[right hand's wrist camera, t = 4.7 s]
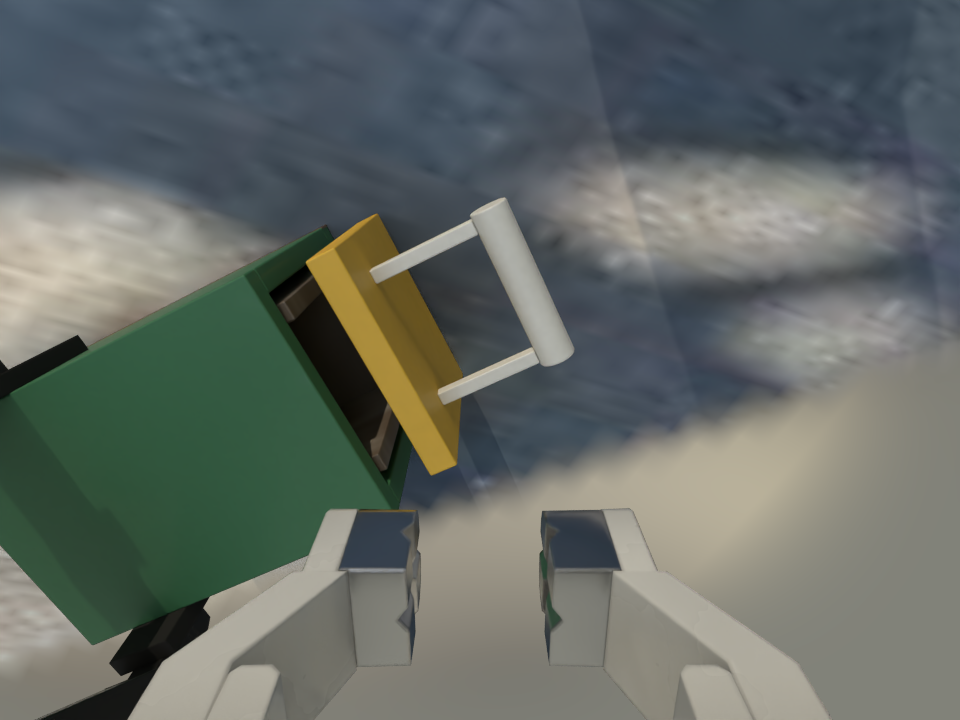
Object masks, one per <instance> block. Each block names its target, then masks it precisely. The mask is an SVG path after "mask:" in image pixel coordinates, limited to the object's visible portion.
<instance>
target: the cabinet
mask: <svg viewBox="0 0 960 720" xmlns="http://www.w3.org/2000/svg"><path fill="white" fill-rule="evenodd" d="M333 241H334V239H333V237H332V235H331V234H330V232H329V230H328V228H327V225H324V226H322V227H320V228H318V229H316V230H314V231H312V232H310V233H308V234H306V235H304V236H302V237H300V238H298V239H297V240H295V241H293V242H291V243H289V244H287V245H285V246H283V247H281V248H279V249H277V250H275V251H273V252H271V253H269V254H267V255H265V256H263V257H261V258H259V259H257V260H256V261H254V262H252V263H250V264H248V265H246V266H244V267H242V268H240V269H238V270H236V271H234V272H232V273H230V274H228V275H226V276H224V277H222V278H220V279H218V280H216V281H215V282H213V283H211V284H209V285H207V286H205V287H203V288H201V289H199V290H197V291H195V292H193V293H191V294H189V295H187V296H185V297H183V298H181V299H179V300H177V301H175V302H174V303H172V304H170V305H168V306H166V307H164V308H162V309H160V310H158V311H156V312H154V313H152V314H150V315H148V316H146V317H144V318H142V319H140V320H138V321H136V322H134V323H133V324H131V325H129V326H127V327H125V328H123V329H121V330H119V331H117V332H115V333H113V334H111V335H109V336H107V337H105V338H103V339H101V340H99V341H97V342H95V343H94V344H92V345H90V346H88V347H87V348H88V349H89V350H87V351H85V352H83V353H81V354H80V355H78V356H76V357H74V358H72V359H71V360H69V361H67V362H65V363H63V364H62V365H60V366H58V367H56V368H54V369H53V370H51V371H49V372H47V373H45V374H44V375H42V376H40V377H38V378H36V379H34V380H33V381H31V382H29V383H27V384H25V385H24V386H22V387H20V388H18V389H16V390H15V391H13V392H11V393H10V394H8V395H6V396H5V397H3V398H1V399H0V546H1V547H2V548H3V549H4V550H5V551H6V552H7V553H8V554H9V555H10V557H11V558H12V559H13V560H14V561H15V562H16V563H17V564H18V565H19V566H20V567H21V568H22V570H23V571H24V572H25V573H26V574H27V575H28V576H29V577H30V578H31V579H32V580H33V581H34V583H35V584H36V585H37V586H38V587H39V588H40V589H41V590H42V591H43V592H44V593H45V595H46V596H47V597H48V598H49V599H50V600H51V601H52V602H53V603H54V604H55V605H56V606H57V608H58V609H59V610H60V611H61V612H62V613H63V614H64V615H65V616H66V617H67V618H68V620H69V621H70V622H71V623H72V624H73V625H74V626H75V627H76V628H77V629H78V630H79V631H80V633H81V634H82V635H83V636H84V637H85V638H86V639H87V640H88V641H89V642H90V643H91V644H92V645H95V644H97V643H100V642H102V641H105V640H107V639H109V638H112V637H114V636H116V635H119V634H121V633H124V632H126V631H128V630H131V629H133V628H136V627H138V626H140V625H143V624H145V623H148V622H150V621H152V620H155V619H157V618H159V617H162V616H164V615H167V614H169V613H171V612H174V611H176V610H179V609H181V608H183V607H186V606H188V605H191V604H193V603H195V602H198V601H200V600H202V599H205V598H207V597H210V596H212V595H214V594H217V593H219V592H222V591H224V590H226V589H229V588H231V587H234V586H236V585H238V584H241V583H243V582H245V581H248V580H250V579H253V578H255V577H257V576H260V575H262V574H265V573H267V572H269V571H272V570H274V569H277V568H279V567H281V566H284V565H286V564H288V563H291V562H293V561H296V560H298V559H300V558H303V557H305V556H308V555H309V553H310V550H311V548H312V546H313V543H314V541H315V538H316V536H317V533H318V531H319V528H320V526H321V524H322V521H323V519H324V516H325V514H326V512H327V511H329V510H330V509H358V510H360V509H388V510H399V503H400V500H401V496H402V491H403V486H404V482H405V477H406V472H407V468H408V463H409V458H410V454H411V449H412V443H411V441H410V439H409V438H408V436H407V434H406V433H405V431H404V429H403V428H402V426H401V424H399V428H398V431H397V435H396V439H395V442H394V446H393V450H392V453H391V457H390V461H389V464H388V468H387V469H386V470H384V471H381V472H379V470H378V468H377V467H376V465H375V464H374V462H373V460H372V459H371V457H370V456H369V454H368V452H367V451H366V449H365V448H364V446H363V444H362V443H361V441H360V440H359V438H358V436H357V435H356V433H355V431H354V430H353V428H352V427H351V425H350V423H349V422H348V420H347V419H346V417H345V415H344V414H343V412H342V411H341V409H340V407H339V406H338V404H337V403H336V401H335V399H334V398H333V396H332V394H331V393H330V391H329V390H328V388H327V386H326V385H325V383H324V382H323V380H322V378H321V377H320V375H319V374H318V372H317V370H316V369H315V367H314V366H313V364H312V362H311V361H310V359H309V357H308V356H307V354H306V353H305V351H304V349H303V348H302V346H301V345H300V343H299V341H298V340H297V338H296V337H295V335H294V333H293V332H292V330H291V329H290V327H289V325H288V324H287V322H286V320H285V319H284V317H283V316H282V314H281V312H280V311H279V309H278V308H277V306H276V304H275V303H274V301H273V300H272V298H271V296H270V295H269V293H270V292H271V291H272V290H273V289H275V288H276V287H277V286H279V285H280V284H281V283H283V282H284V281H286V280H288V279H290V278H292V277H294V276H296V275H298V274H300V273H302V272H304V271H306V270H308V269H309V268H308V266H307V264H306V261H307V260H309V259H310V258H311V257H313V256H314V255H315V254H317V253H318V252H319V251H321V250H322V249H323V248H325V247H326V246H327V245H329V244H330V243H331V242H333Z"/></svg>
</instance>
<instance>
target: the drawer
mask: <svg viewBox="0 0 960 720" xmlns="http://www.w3.org/2000/svg"><path fill="white" fill-rule="evenodd" d="M470 217H471V220H468V221H466V222H464V223H462V224H460V225H458V226H456V227H454V228H452V229H450V230H448V231H446V232H444V233H442V234H440V235H438V236H436V237H434V238H432V239H430V240H428V241H426V242H424V243H422V244H420V245H418V246H416V247H414V248H412V249H410V250H408V251H406V252H403V253H401V254H399V253H398V251H397V249H396V247H395V245H394V243H393V241H392V240H391V238H390V236H389V234H388V232H387V230H386V228H385V226H384V225H383V223H382V221H381V219H380V217H379V215H378V214H374V215H372V216H370V217H369V218H367V219H365V220H363V221H361V222H359V223H357V224H356V225H354V226H353V227H352V228H350V229H349V230H348V231H346V232H345V233H344V234H342V235H341V236H340V237H338V238H337V239H335V240H334V241H333V242H331V243H330V244H329V245H327V246H326V247H325V248H323V249H322V250H321V251H319V252H318V253H317V254H315V255H314V256H313V257H311V258H310V259H309V260H307V261H306V264H307V266H308V268H309V269H308V270H306V271H304V272H302V273H300V274H298V275H296V276H294V277H292V278H290V279H288V280H286V281H284V282H283V283H281V284H280V285H279V286H277V287H276V288H275V289H273V290H272V291H271V292H270V293H269V295H270V296H271V298H272V300H273V301H274V303H275V304H276V306H277V308H278V309H279V311H280V312H281V314H282V316H283V317H284V319H285V320H286V322H287V324H288V325H289V327H290V329H291V330H292V332H293V333H294V335H295V337H296V338H297V340H298V341H299V343H300V345H301V346H302V348H303V349H304V351H305V353H306V354H307V356H308V357H309V359H310V361H311V362H312V364H313V366H314V367H315V369H316V370H317V372H318V374H319V375H320V377H321V378H322V380H323V382H324V383H325V385H326V386H327V388H328V390H329V391H330V393H331V394H332V396H333V398H334V399H335V401H336V403H337V404H338V406H339V407H340V409H341V411H342V412H343V414H344V415H345V417H346V419H347V420H348V422H349V423H350V425H351V427H352V428H353V430H354V431H355V433H356V435H357V436H358V438H359V440H360V441H361V443H362V444H363V446H364V448H365V449H366V451H367V452H368V454H369V456H370V457H371V459H372V460H373V462H374V464H375V465H376V467H377V468H378V470H379V472H381V471H384V470H386V469H387V468H388V464H389V461H390V457H391V453H392V450H393V446H394V442H395V439H396V435H397V431H398V428H399V424H401V426H402V428H403V429H404V431H405V433H406V434H407V436H408V438H409V439H410V441H411V443H412V444H413V446H414V448H415V450H416V451H417V453H418V455H419V456H420V458H421V460H422V461H423V463H424V465H425V467H426V468H427V470H428V472H429V473H430V475H434V474H437V473H439V472H441V471H444V470H446V469H448V468H451V467H453V466H455V465H457V455H458V440H459V424H460V409H461V397H464V396H466V395H468V394H470V393H473V392H475V391H477V390H479V389H482V388H484V387H486V386H488V385H491V384H493V383H495V382H497V381H500V380H502V379H504V378H506V377H509V376H511V375H513V374H515V373H518V372H520V371H522V370H524V369H527V368H529V367H531V366H533V365H536V364H538V363H539V361H540V363H541V365H543V366H553V365H556V364H559V363H561V362H563V361H565V360H566V359H568V358H569V357H570V356H571V355H572V354H573V353H574V347H573V345H572V342H571V340H570V338H569V336H568V334H567V331H566V329H565V327H564V325H563V323H562V320H561V318H560V316H559V314H558V312H557V309H556V307H555V305H554V303H553V301H552V298H551V296H550V294H549V292H548V290H547V287H546V285H545V283H544V281H543V279H542V276H541V274H540V272H539V270H538V268H537V265H536V263H535V261H534V259H533V256H532V254H531V252H530V250H529V248H528V245H527V243H526V241H525V239H524V237H523V234H522V232H521V230H520V228H519V226H518V223H517V221H516V219H515V217H514V215H513V212H512V210H511V208H510V206H509V204H508V201H507V199H506V198H500V199H497V200H495V201H493V202H490V203H488V204H486V205H484V206H482V207H481V208H479V209H477V210H475V211H474V212H473V213H472V214H471V215H470ZM478 234H479V236H480V238H481V240H482V242H483V244H484V246H485V248H486V250H487V253H488V255H489V257H490V259H491V261H492V263H493V265H494V267H495V269H496V271H497V273H498V276H499V278H500V280H501V282H502V284H503V286H504V288H505V290H506V292H507V294H508V296H509V298H510V301H511V303H512V305H513V307H514V309H515V311H516V313H517V315H518V317H519V319H520V321H521V324H522V326H523V328H524V330H525V332H526V334H527V336H528V338H529V340H530V342H531V344H532V346H533V347H531V348H529V349H527V350H525V351H522V352H520V353H518V354H516V355H513V356H511V357H509V358H507V359H505V360H502V361H500V362H498V363H496V364H493V365H491V366H489V367H487V368H485V369H482V370H480V371H478V372H476V373H473V374H471V375H469V376H467V377H465V378H463V373H462V371H461V369H460V368H459V366H458V364H457V362H456V360H455V358H454V356H453V354H452V353H451V351H450V349H449V347H448V345H447V343H446V341H445V339H444V337H443V336H442V334H441V332H440V330H439V328H438V326H437V324H436V322H435V321H434V319H433V317H432V315H431V313H430V311H429V309H428V307H427V305H426V304H425V302H424V300H423V298H422V296H421V294H420V292H419V290H418V289H417V287H416V285H415V283H414V281H413V279H412V277H411V275H410V273H409V272H408V270H407V269H409V268H411V267H413V266H415V265H417V264H419V263H421V262H423V261H425V260H427V259H429V258H432V257H434V256H436V255H438V254H440V253H442V252H444V251H446V250H448V249H450V248H452V247H454V246H456V245H458V244H460V243H462V242H464V241H466V240H468V239H470V238H473V237H475V236H477V235H478Z"/></svg>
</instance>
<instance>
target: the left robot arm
mask: <svg viewBox="0 0 960 720" xmlns="http://www.w3.org/2000/svg"><path fill="white" fill-rule="evenodd" d="M87 350H89V349H88V348H87V347H86V345H85V344H84V343H83V341H82V340H81V339H80V337H79V336H78V335H77V336H75V337H73V338H71V339H69V340H67V341H65V342H63V343H61V344H59V345H57V346H55V347H53V348H51V349H49V350H47V351H45V352H43V353H41V354H39V355H37V356H35V357H33V358H31V359H29V360H27V361H25V362H23V363H21V364H19V365H17V366H15V367H13V368H11V369H9V370H8V369H7V368H6V367H5V365H4V364H3V363H2V362H1V360H0V399H1V398H3V397H5V396H6V395H8V394H10V393H11V392H13V391H15V390H16V389H18V388H20V387H22V386H24V385H25V384H27V383H29V382H31V381H33V380H34V379H36V378H38V377H40V376H42V375H44V374H45V373H47V372H49V371H51V370H53V369H54V368H56V367H58V366H60V365H62V364H63V363H65V362H67V361H69V360H71V359H72V358H74V357H76V356H78V355H80V354H81V353H83V352H85V351H87ZM208 599H209V597H207V598H205V599H202V600H200V601H198V602H195V603H193V604H191V605H188V606H186V607H183V608H181V609H179V610H176V611H174V612H171V613H169V614H167V615H164V616H162V617H159V618H157V619H155V620H152V621H150V622H148V623H145V624H143V625H140V626H138V627H136V628H133V630H132V631H131V633H130V634H129V636H128V637H127V638H126V640H125V641H124V643H123V644H122V646H121V647H120V648H119V650H118V651H117V653H116V654H115V656H114V657H113V659H112V660H111V661H110V665H111V666H112V667H113V668H114V669H115V670H116V671H117V672H118V673H119V675H120V676H122V675H125V674H127V673H130V672H132V671H133V672H132V674H131V675H130V677H129V678H128V680H126V681H123V682H121V683H118V684H116V685H113V686H111V687H108V688H106V689H105V690H102V691H100V692H98V693H96V694H93V695H91V696H89V697H86V698H84V699H82V700H79V701H77V702H75V703H72V704H70V705H68V706H66V707H63V708H61V709H59V710H56V711H54V712H52V713H49V714H47V715H45V716H43V717H40V718H38V719H36V720H127V719H128V718H129V716H130V715H131V713H132V711H133V710H134V708H135V706H136V705H137V703H138V701H139V700H140V698H141V696H142V695H143V693H144V691H145V690H146V688H147V686H148V685H149V683H150V681H151V680H152V678H153V677H154V675H155V673H156V672H157V670H158V668H159V667H160V665H161V663H162V662H163V661H164V660H166V659H167V658H169V657H170V656H172V655H173V654H174V653H176V652H177V651H179V650H180V649H182V648H183V647H185V646H186V645H187V644H189V643H190V642H192V641H193V640H195V639H196V638H198V637H199V636H200V635H202V634H203V633H205V632H206V631H207V630H208V626H209V621H210V616H209V615H208V614H207V612H206V611H205V610H204V609H203V607H204V606H205V604H206V602H207V600H208Z"/></svg>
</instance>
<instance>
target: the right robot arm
mask: <svg viewBox="0 0 960 720" xmlns="http://www.w3.org/2000/svg"><path fill="white" fill-rule="evenodd" d="M541 538H542V545H543V550H542V551H541V552H540V562H539V586H540V598H541V607H542V611H543V612H544V613H545V638H546V645H547V652H548V659H549V665H552V666H587V667H604V671H605V672H606V673H607V674H608V675H609V677H610V678H611V679H612V680H613V681H614V682H615V684H616V685H617V686H618V687H619V688H620V690H621V691H622V692H623V693H624V694H625V695H626V697H627V698H628V699H629V700H630V701H631V702H632V704H633V705H634V706H635V707H636V708H637V709H638V711H639V712H640V713H641V714H642V715H643V717H644V718H645V719H646V720H833V719H832V718H831V716H830V714H829V713H828V711H827V709H826V708H825V706H824V704H823V703H822V701H821V699H820V698H819V696H818V694H817V693H816V691H815V689H814V688H813V686H812V684H811V683H810V681H809V679H808V678H807V676H806V674H805V673H804V671H803V669H802V668H801V666H800V664H799V663H798V662H797V661H795V660H794V659H792V658H791V657H790V656H788V655H787V654H785V653H784V652H782V651H781V650H779V649H778V648H777V647H775V646H774V645H772V644H771V643H769V642H768V641H766V640H765V639H764V638H762V637H761V636H759V635H758V634H756V633H755V632H753V631H752V630H751V629H749V628H748V627H746V626H745V625H744V624H742V623H741V622H739V621H738V620H736V619H735V618H733V617H732V616H731V615H729V614H728V613H726V612H725V611H723V610H722V609H721V608H719V607H718V606H716V605H715V604H713V603H712V602H710V601H709V600H708V599H706V598H705V597H703V596H702V595H700V594H699V593H697V592H696V591H695V590H693V589H692V588H690V587H689V586H687V585H686V584H685V583H683V582H682V581H680V580H679V579H677V578H676V577H674V576H673V575H672V574H670V573H669V572H667V571H658V570H657V567H656V565H655V563H654V560H653V558H652V555H651V553H650V551H649V548H648V546H647V543H646V541H645V538H644V536H643V534H642V531H641V529H640V526H639V524H638V522H637V519H636V517H635V514H634V512H633V511H632V510H631V509H629V508H626V509H601V510H567V511H542V517H541ZM418 539H419V517H418V511H417V510H388V509H360V510H358V509H330V510H329V511H327V512H326V514H325V516H324V519H323V521H322V524H321V526H320V528H319V531H318V533H317V536H316V538H315V541H314V543H313V546H312V548H311V550H310V553H309V555H308V558H307V560H306V563H305V565H304V568H303V570H302V571H293V572H291V573H290V574H289V575H287V576H286V577H284V578H283V579H281V580H280V581H278V582H277V583H276V584H274V585H273V586H271V587H270V588H268V589H267V590H265V591H264V592H263V593H261V594H260V595H258V596H257V597H255V598H254V599H252V600H251V601H250V602H248V603H247V604H245V605H244V606H242V607H241V608H239V609H238V610H237V611H235V612H234V613H232V614H231V615H229V616H228V617H226V618H225V619H224V620H222V621H221V622H219V623H218V624H216V625H215V626H213V627H212V628H211V629H209V630H208V631H206V632H205V633H203V634H202V635H200V636H199V637H198V638H196V639H195V640H193V641H192V642H190V643H189V644H187V645H186V646H185V647H183V648H182V649H180V650H179V651H177V652H176V653H174V654H173V655H172V656H170V657H169V658H167V659H166V660H164V661H163V662H162V663H161V665H160V667H159V668H158V670H157V672H156V673H155V675H154V677H153V678H152V680H151V681H150V683H149V685H148V686H147V688H146V690H145V691H144V693H143V695H142V696H141V698H140V700H139V701H138V703H137V705H136V706H135V708H134V710H133V711H132V713H131V715H130V716H129V718H128V719H127V720H314V719H315V718H316V717H317V716H318V715H319V713H320V712H321V711H322V710H323V709H324V708H325V706H326V705H327V704H328V703H329V702H330V701H331V699H332V698H333V697H334V696H335V695H336V694H337V692H338V691H339V690H340V689H341V688H342V687H343V685H344V684H345V683H346V682H347V681H348V680H349V678H350V677H351V676H352V675H353V674H354V673H355V671H356V667H372V666H406V665H411V660H412V653H413V646H414V638H415V613H416V612H417V611H418V608H419V599H420V584H421V556H420V552H419V551H418V550H417V546H418Z"/></svg>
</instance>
